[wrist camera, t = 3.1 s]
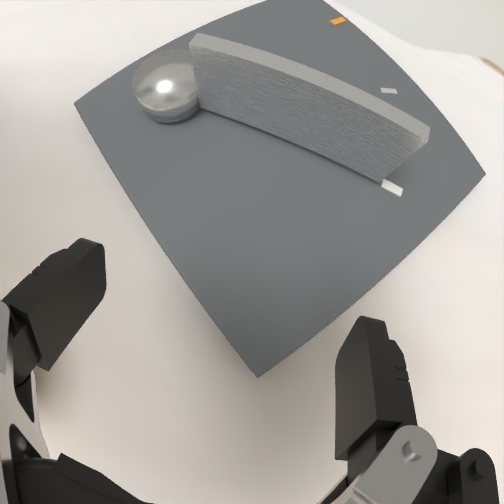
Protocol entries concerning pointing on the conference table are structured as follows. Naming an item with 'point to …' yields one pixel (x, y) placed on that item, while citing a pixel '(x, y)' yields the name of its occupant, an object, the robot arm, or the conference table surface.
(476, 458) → the robot arm
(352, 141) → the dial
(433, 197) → the dial plate
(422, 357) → the conference table surface
